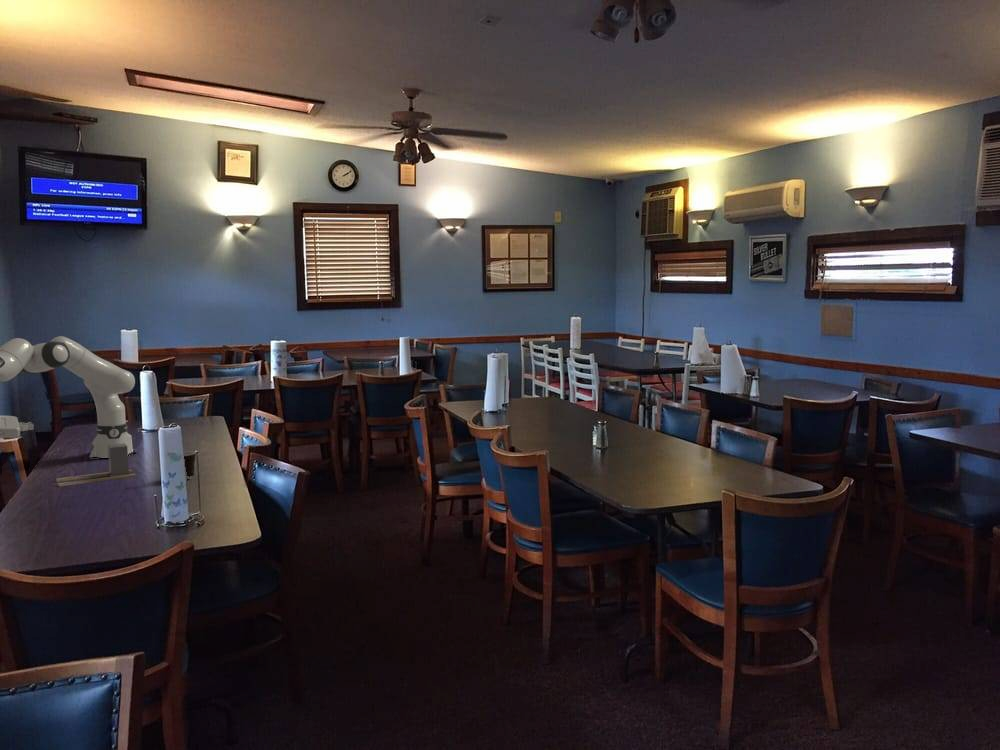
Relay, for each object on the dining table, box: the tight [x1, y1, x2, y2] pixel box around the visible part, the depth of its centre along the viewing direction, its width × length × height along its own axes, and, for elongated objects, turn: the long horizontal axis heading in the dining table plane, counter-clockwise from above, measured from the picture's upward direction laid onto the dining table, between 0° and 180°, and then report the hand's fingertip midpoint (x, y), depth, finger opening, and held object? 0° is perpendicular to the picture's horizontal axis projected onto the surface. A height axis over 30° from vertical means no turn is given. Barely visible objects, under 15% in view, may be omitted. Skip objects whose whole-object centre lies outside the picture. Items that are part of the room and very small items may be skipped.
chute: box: [55, 469, 137, 487], centre depth 292 cm, size 10×26×2 cm, turn 124°
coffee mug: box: [183, 450, 197, 477], centre depth 299 cm, size 12×9×10 cm
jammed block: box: [108, 443, 130, 477], centre depth 296 cm, size 6×6×12 cm
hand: (33, 426), depth 278 cm, fingers closed
